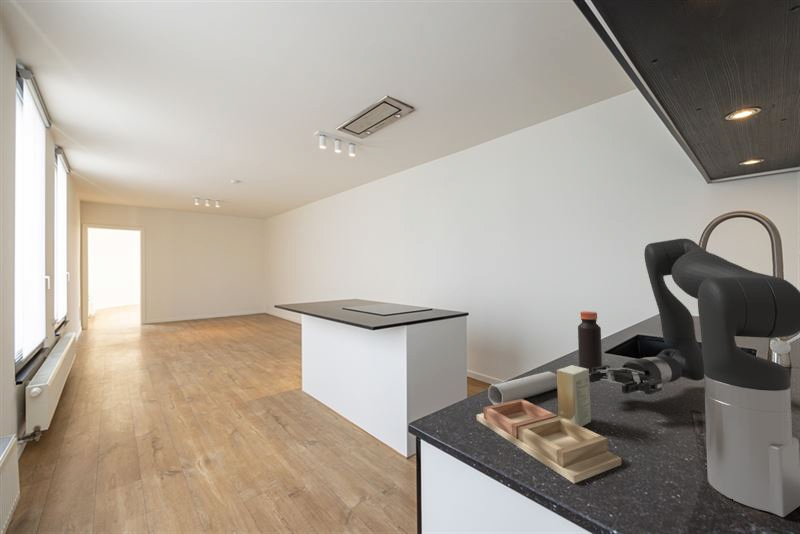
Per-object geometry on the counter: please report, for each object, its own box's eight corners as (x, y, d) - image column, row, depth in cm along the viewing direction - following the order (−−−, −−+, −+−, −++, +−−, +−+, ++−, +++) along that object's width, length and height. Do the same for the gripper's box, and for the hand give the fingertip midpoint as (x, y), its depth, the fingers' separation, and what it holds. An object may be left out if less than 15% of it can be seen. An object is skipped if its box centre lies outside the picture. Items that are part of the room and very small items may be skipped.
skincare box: (573, 415, 79) (571, 364, 79) (591, 422, 75) (590, 368, 75) (557, 422, 76) (555, 368, 76) (575, 430, 72) (574, 373, 72)
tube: (545, 381, 101) (485, 397, 88) (550, 366, 100) (490, 380, 87) (560, 392, 97) (500, 411, 84) (566, 376, 95) (505, 393, 83)
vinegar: (583, 366, 117) (581, 310, 118) (605, 370, 112) (603, 312, 113) (576, 371, 113) (574, 312, 113) (598, 375, 108) (596, 314, 108)
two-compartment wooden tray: (621, 464, 59) (620, 443, 59) (574, 483, 54) (573, 460, 54) (516, 410, 83) (515, 395, 83) (476, 419, 78) (476, 404, 78)
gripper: (618, 352, 93) (578, 360, 87) (677, 365, 80) (636, 376, 74) (619, 379, 93) (579, 389, 87) (679, 396, 80) (637, 409, 74)
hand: (605, 383), depth 80 cm, fingers open, 8 cm apart
